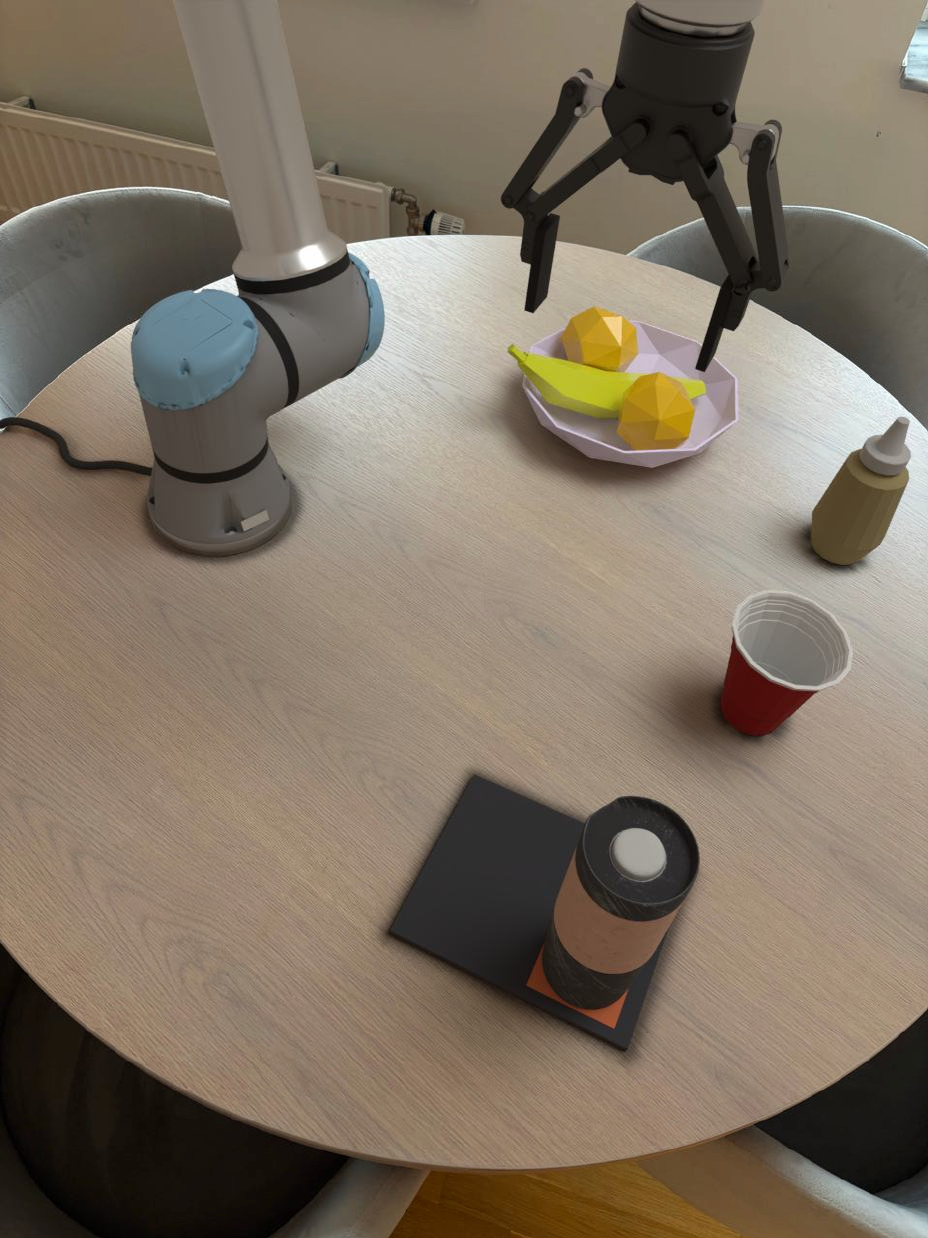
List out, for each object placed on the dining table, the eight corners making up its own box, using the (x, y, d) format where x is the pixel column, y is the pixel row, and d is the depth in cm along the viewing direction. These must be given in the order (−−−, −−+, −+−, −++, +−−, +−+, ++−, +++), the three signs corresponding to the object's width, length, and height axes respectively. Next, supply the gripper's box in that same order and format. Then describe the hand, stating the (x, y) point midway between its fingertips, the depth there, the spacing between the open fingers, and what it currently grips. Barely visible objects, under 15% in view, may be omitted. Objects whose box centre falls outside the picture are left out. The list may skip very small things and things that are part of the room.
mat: (389, 933, 75) (389, 930, 75) (473, 777, 85) (474, 773, 84) (626, 1051, 71) (628, 1049, 70) (686, 872, 80) (688, 869, 80)
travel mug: (630, 1024, 71) (700, 920, 56) (531, 1001, 72) (572, 891, 57) (639, 928, 76) (704, 807, 61) (545, 907, 77) (587, 782, 62)
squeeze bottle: (877, 537, 109) (949, 410, 95) (865, 583, 104) (940, 457, 90) (807, 513, 111) (869, 385, 97) (793, 557, 106) (855, 429, 92)
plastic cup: (786, 781, 87) (835, 706, 78) (679, 724, 90) (713, 646, 81) (823, 700, 93) (872, 623, 84) (721, 650, 96) (758, 570, 87)
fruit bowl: (724, 373, 127) (749, 298, 119) (724, 510, 110) (754, 433, 101) (518, 340, 129) (528, 263, 120) (486, 469, 112) (496, 390, 103)
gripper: (470, -22, 55) (447, 303, 72) (898, 89, 49) (767, 415, 66) (522, -54, 60) (490, 259, 76) (920, 44, 54) (792, 360, 70)
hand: (618, 332), depth 71 cm, fingers open, 13 cm apart
